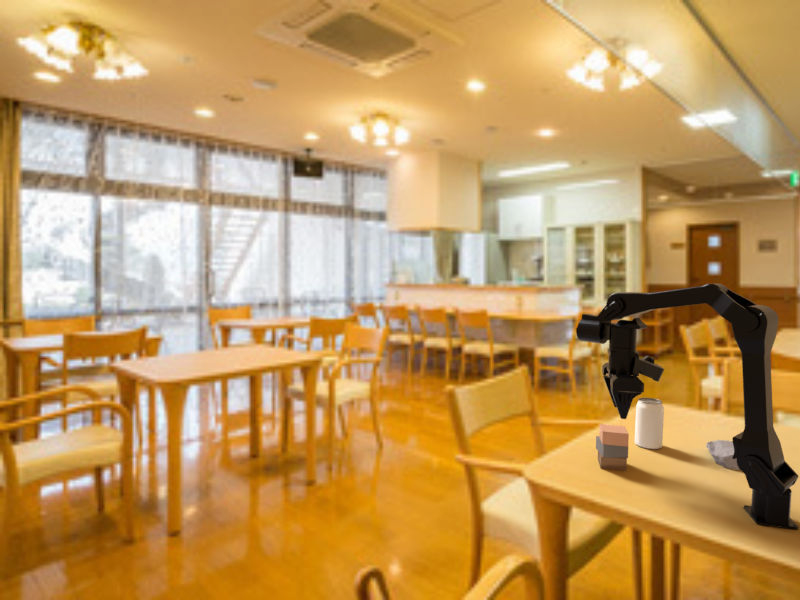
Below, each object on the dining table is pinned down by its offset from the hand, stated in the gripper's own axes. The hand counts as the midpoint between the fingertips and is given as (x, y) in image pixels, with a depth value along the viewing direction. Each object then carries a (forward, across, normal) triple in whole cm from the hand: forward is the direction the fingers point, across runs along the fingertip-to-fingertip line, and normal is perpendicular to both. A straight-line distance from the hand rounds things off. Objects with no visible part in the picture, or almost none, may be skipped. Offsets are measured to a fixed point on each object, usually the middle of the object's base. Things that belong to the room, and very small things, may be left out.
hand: (620, 412), depth 112 cm
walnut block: (+13, 0, +1) cm, 13 cm away
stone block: (+13, +12, -27) cm, 33 cm away
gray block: (+10, 0, +2) cm, 10 cm away
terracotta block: (+7, 0, +1) cm, 7 cm away
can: (+13, +17, -10) cm, 23 cm away
